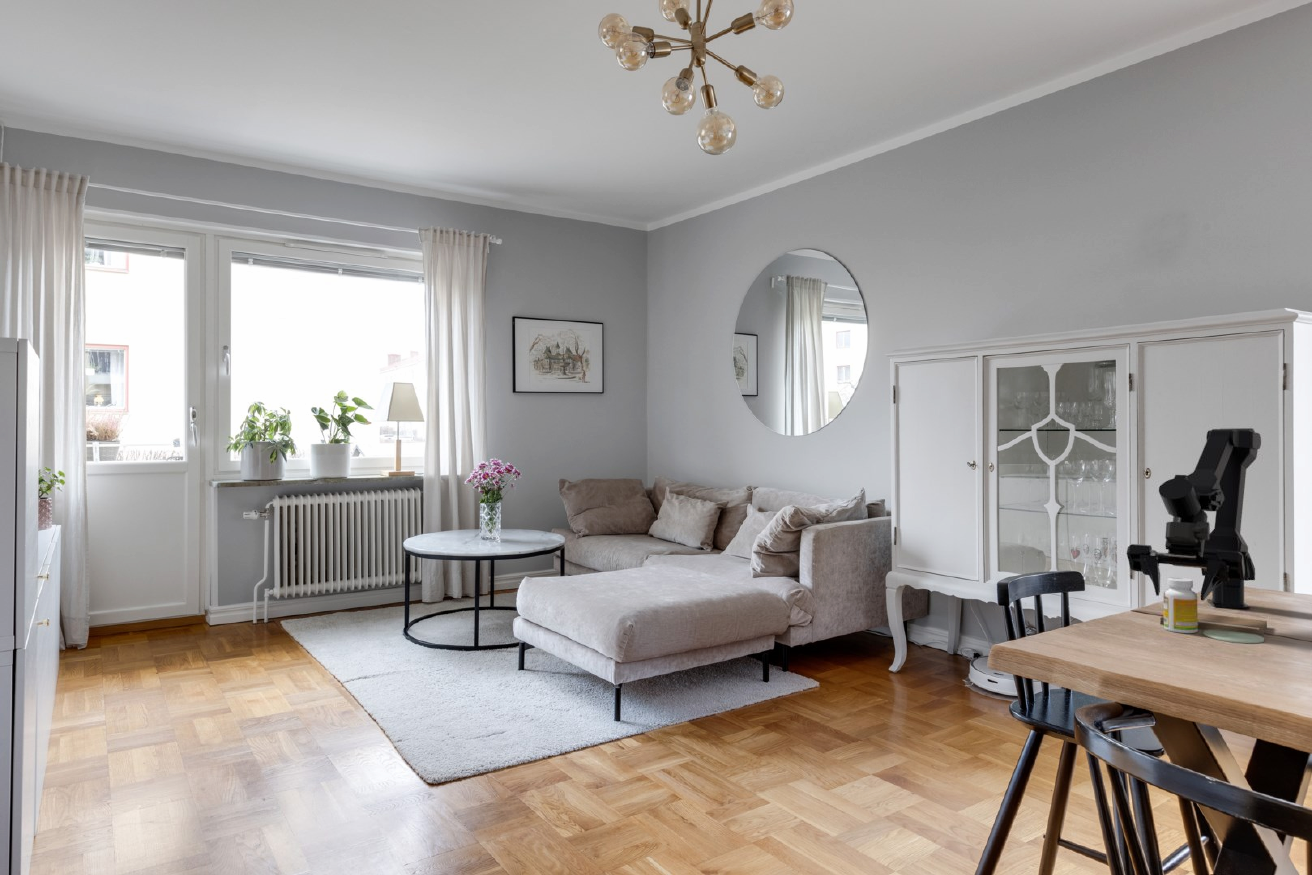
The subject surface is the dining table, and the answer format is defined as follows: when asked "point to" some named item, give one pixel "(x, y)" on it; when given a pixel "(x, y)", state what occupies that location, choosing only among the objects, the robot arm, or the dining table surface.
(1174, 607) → the supplement bottle
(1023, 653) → the dining table surface
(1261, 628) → the walnut board
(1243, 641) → the end pad
